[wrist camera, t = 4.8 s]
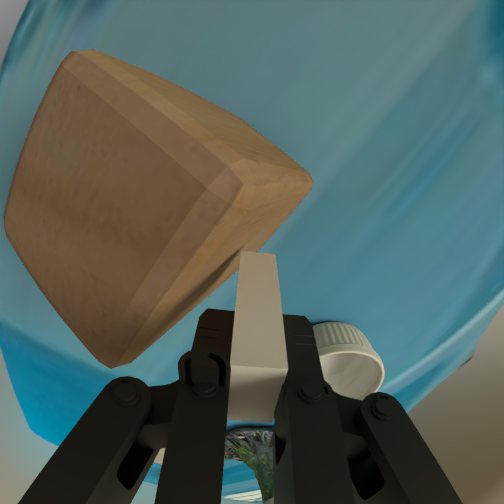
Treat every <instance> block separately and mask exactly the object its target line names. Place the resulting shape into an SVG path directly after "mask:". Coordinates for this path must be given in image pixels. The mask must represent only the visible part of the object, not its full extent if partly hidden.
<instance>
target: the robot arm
mask: <svg viewBox="0 0 504 504" xmlns="http://www.w3.org/2000/svg"><path fill="white" fill-rule="evenodd" d="M314 336H315V335H314V330H313V326H312V324H311V323H310V322H309V321H308V319H307V318H306V317H305V316H298V315H284V314H282V306H281V298H280V289H279V280H278V272H277V264H276V255H275V254H269V253H259V252H249V251H241V257H240V267H239V277H238V286H237V296H236V306H235V311H227V310H218V309H208V308H207V309H206V310H205V312H204V313H203V314H202V315H201V316H200V317H199V321H198V325H197V329H196V333H195V337H194V341H193V346H192V350H191V351H188V352H187V353H185V354H184V355H182V356H181V358H180V360H179V362H178V372H179V380H177V381H176V382H173V383H171V384H167V385H162V386H151V387H148V386H147V385H146V384H145V383H144V382H143V381H141V380H140V379H138V378H134V377H130V376H127V377H119V378H116V379H114V380H112V381H111V382H110V383H108V384H107V385H106V386H105V387H104V389H103V390H102V391H101V393H100V394H99V395H98V396H97V398H96V399H95V400H94V402H93V403H92V404H91V405H90V407H89V408H88V409H87V411H86V412H85V413H84V414H83V416H82V417H81V418H80V420H79V421H78V422H77V424H76V425H75V426H74V428H73V429H72V430H71V431H70V433H69V434H68V435H67V437H66V438H65V439H64V441H63V442H62V443H61V445H60V446H59V447H58V449H57V450H56V452H55V453H54V454H53V456H52V457H51V458H50V460H49V461H48V462H47V464H46V465H45V467H44V468H43V469H42V471H41V472H40V473H39V475H38V476H37V477H36V479H35V480H34V482H33V483H32V484H31V486H30V487H29V489H28V490H27V491H26V493H25V494H24V496H23V497H22V499H21V500H20V501H19V503H18V504H130V503H131V502H132V500H133V498H134V496H135V494H136V493H137V491H138V489H139V487H140V485H141V484H142V481H143V480H144V478H145V476H146V474H147V473H148V471H149V469H150V467H151V465H152V464H153V462H154V460H155V458H156V456H157V454H158V453H159V451H160V449H162V448H165V452H164V457H163V462H162V467H161V472H160V477H159V482H158V487H157V493H156V499H155V503H154V504H221V492H222V478H223V465H224V451H225V438H226V425H227V419H229V420H241V421H256V422H272V421H273V418H275V428H274V431H273V434H272V437H271V440H270V443H269V447H273V488H274V504H462V502H461V500H460V499H459V497H458V495H457V493H456V492H455V490H454V488H453V487H452V485H451V483H450V482H449V480H448V478H447V477H446V475H445V474H444V472H443V470H442V469H441V467H440V465H439V464H438V462H437V460H436V459H435V457H434V456H433V454H432V452H431V451H430V449H429V448H428V446H427V444H426V443H425V441H424V440H423V438H422V437H421V435H420V433H419V432H418V430H417V429H416V427H415V426H414V424H413V422H412V421H411V419H410V418H409V416H408V415H407V413H406V412H405V410H404V409H403V407H402V406H401V404H400V403H399V402H398V401H397V400H396V398H394V397H393V396H391V395H389V394H387V393H382V392H376V393H371V394H369V395H367V396H366V397H365V398H364V399H363V400H358V399H354V398H350V397H346V396H343V395H340V394H338V393H336V392H335V391H333V389H332V387H331V386H330V385H329V384H328V383H327V382H326V381H325V380H324V377H323V372H322V367H321V363H320V358H319V353H318V349H317V346H316V339H315V338H314Z"/></svg>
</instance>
